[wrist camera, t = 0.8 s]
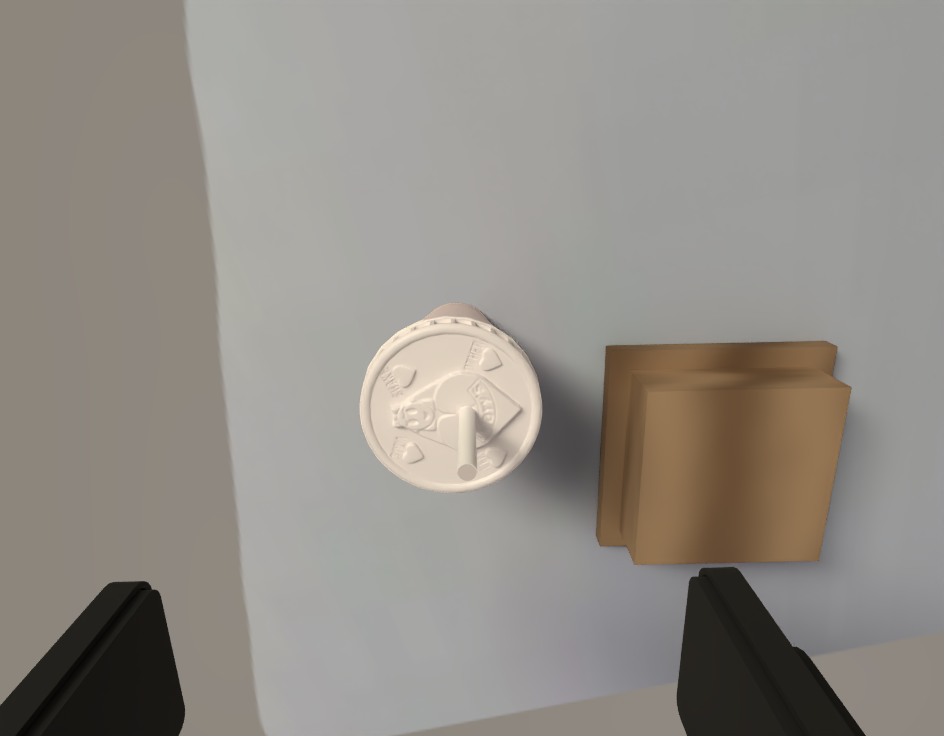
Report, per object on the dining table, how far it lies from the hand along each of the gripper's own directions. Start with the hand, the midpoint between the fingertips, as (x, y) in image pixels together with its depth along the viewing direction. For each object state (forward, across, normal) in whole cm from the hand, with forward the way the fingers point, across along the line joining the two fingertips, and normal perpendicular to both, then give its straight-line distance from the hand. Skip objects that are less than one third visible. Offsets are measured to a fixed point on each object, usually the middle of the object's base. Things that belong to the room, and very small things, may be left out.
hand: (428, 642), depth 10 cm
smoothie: (+20, 0, 0) cm, 20 cm away
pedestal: (+20, -13, +6) cm, 25 cm away
